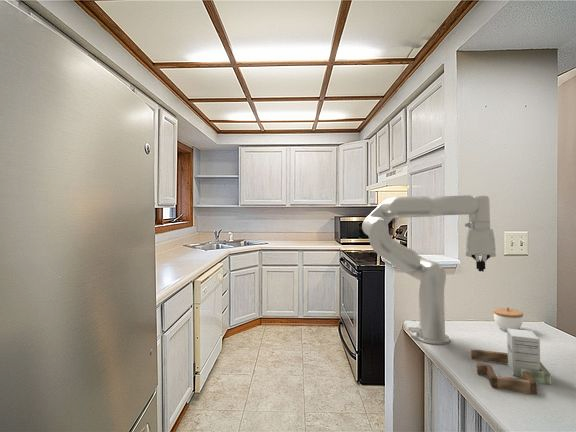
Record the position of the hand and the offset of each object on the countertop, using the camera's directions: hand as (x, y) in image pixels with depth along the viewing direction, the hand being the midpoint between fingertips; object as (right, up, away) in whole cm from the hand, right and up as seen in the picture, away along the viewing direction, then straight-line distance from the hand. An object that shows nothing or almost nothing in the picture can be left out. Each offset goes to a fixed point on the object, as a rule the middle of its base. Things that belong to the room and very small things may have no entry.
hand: (480, 270), depth 134 cm
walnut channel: (-8, -28, -27) cm, 39 cm away
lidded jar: (+17, -27, +8) cm, 33 cm away
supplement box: (-4, -28, -29) cm, 40 cm away
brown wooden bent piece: (-12, -28, -36) cm, 47 cm away
